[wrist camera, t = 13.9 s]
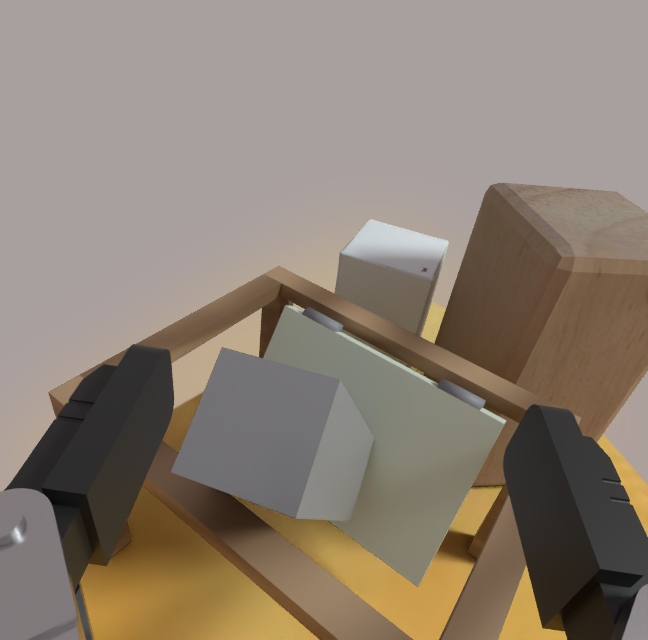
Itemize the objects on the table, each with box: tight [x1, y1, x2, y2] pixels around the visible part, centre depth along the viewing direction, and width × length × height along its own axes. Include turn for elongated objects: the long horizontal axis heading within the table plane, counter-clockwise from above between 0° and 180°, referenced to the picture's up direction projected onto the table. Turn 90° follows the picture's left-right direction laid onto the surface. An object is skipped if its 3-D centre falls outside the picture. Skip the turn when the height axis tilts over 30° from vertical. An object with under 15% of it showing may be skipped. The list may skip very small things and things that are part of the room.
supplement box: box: [335, 219, 449, 368], centre depth 42 cm, size 7×7×13 cm
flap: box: [263, 305, 506, 587], centre depth 28 cm, size 14×10×1 cm
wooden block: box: [424, 183, 648, 486], centre depth 34 cm, size 10×10×20 cm
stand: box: [49, 266, 581, 640], centre depth 27 cm, size 20×16×13 cm
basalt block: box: [171, 347, 374, 521], centre depth 22 cm, size 4×4×12 cm
